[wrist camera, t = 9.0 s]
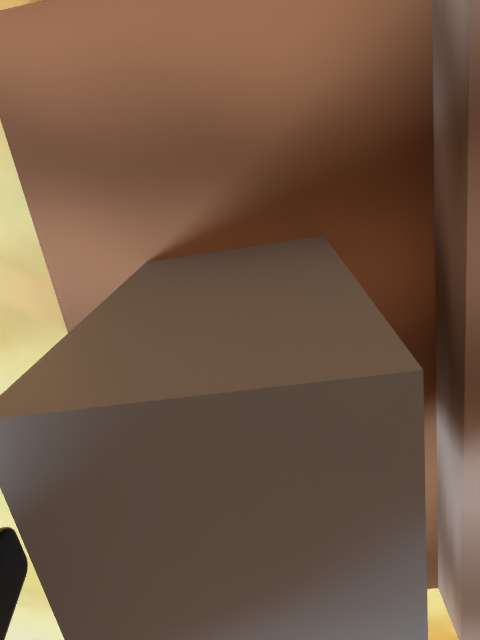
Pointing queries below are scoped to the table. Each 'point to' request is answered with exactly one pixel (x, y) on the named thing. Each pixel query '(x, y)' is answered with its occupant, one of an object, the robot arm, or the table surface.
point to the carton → (225, 457)
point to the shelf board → (274, 177)
